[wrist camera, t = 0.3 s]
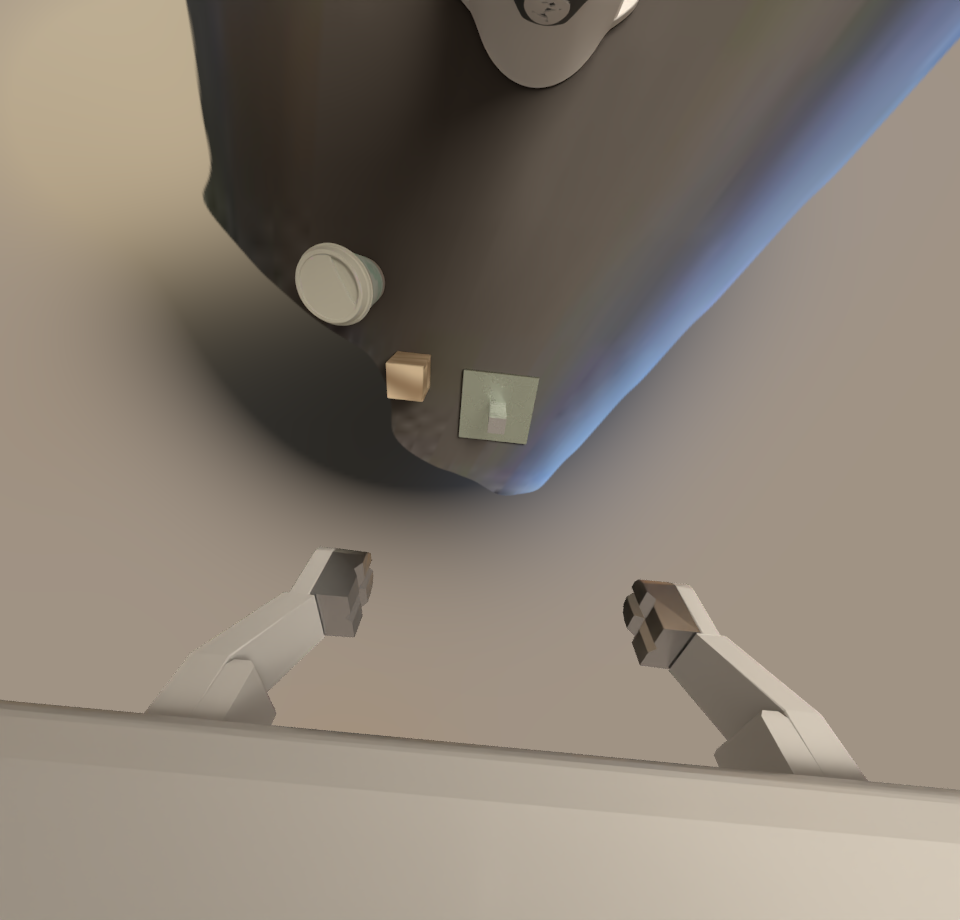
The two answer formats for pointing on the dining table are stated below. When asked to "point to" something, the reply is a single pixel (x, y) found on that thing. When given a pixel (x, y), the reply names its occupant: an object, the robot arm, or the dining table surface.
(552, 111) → the dining table surface
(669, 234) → the dining table surface
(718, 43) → the dining table surface
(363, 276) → the coffee cup
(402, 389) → the wood grain block
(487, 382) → the post
